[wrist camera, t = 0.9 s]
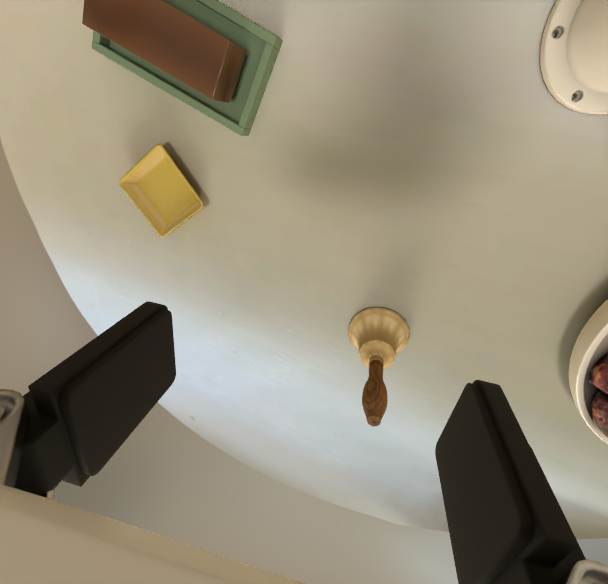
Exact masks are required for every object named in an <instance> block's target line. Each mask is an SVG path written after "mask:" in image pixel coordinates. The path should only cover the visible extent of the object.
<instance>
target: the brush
mask: <svg viewBox="0 0 608 584" xmlns="http://www.w3.org/2000/svg"><path fill="white" fill-rule="evenodd" d="M82 23H83V24H84V25H86V26H87V27H89V28H91V29H92V30H94V31H96V32H97V33H99V34H101V35H103V36H104V37H106V38H108V39H109V40H111V41H113V42H115V43H116V44H118V45H120V46H121V47H123V48H125V49H126V50H128V51H130V52H132V53H133V54H135V55H137V56H138V57H140V58H142V59H144V60H145V61H147V62H149V63H150V64H152V65H154V66H155V67H157V68H159V69H161V70H162V71H164V72H166V73H167V74H169V75H171V76H173V77H174V78H176V79H178V80H179V81H181V82H183V83H184V84H186V85H188V86H190V87H191V88H193V89H195V90H196V91H198V92H200V93H202V94H203V95H205V96H207V97H208V98H210V99H212V100H216V101H221V102H227V103H230V102H231V99H232V98H233V99H234V97H235V94H236V90H237V87H238V84H239V81H240V78H241V75H242V72H243V69H244V65H245V62H246V59H247V56H246V55H245V54H246V50H245V49H243V48H242V47H240V46H238V45H237V44H235V43H233V42H232V41H230V40H228V39H227V38H225V37H223V36H222V35H220V34H218V33H216V32H215V31H213V30H211V29H210V28H208V27H206V26H205V25H203V24H201V23H200V22H198V21H196V20H195V19H193V18H191V17H190V16H188V15H186V14H185V13H183V12H181V11H179V10H178V9H176V8H174V7H173V6H171V5H169V4H168V3H166V2H164V1H163V0H84V10H83V22H82Z"/></svg>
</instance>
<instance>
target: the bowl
mask: <svg viewBox="0 0 608 584" xmlns="http://www.w3.org/2000/svg"><path fill="white" fill-rule="evenodd" d="M569 384H570V390H571V394H572V397H573V400H574V402H575V405H576V407H577V409H578V411H579V412H580V414H581V416H582V417H583V419H584V420H585V422H586V423H587V424H588V426H589V427H590V428H591V430H592V431H593V432H594V433H595V434H596V435H597V436H598V437H599V438H600V439H602V440H603V441H604V442H605V443H607V444H608V299H607V300H606V301H605V302H604V303H603V304H602V305H601V306H600V307H599V308H598V309H597V310H596V312H595V313H594V314H593V315H592V316H591V318H590V319H589V320H588V322H587V323H586V325H585V326H584V327H583V329H582V331H581V332H580V334H579V336H578V338H577V340H576V342H575V345H574V348H573V351H572V354H571V358H570V364H569Z"/></svg>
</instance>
